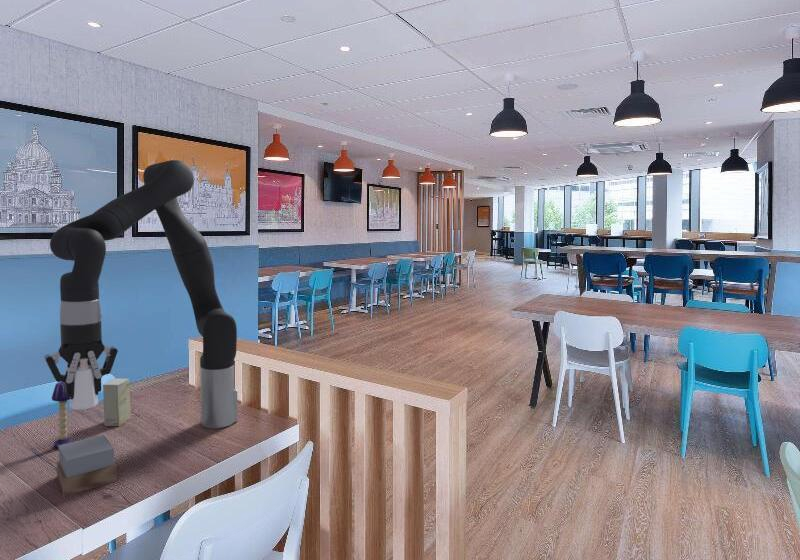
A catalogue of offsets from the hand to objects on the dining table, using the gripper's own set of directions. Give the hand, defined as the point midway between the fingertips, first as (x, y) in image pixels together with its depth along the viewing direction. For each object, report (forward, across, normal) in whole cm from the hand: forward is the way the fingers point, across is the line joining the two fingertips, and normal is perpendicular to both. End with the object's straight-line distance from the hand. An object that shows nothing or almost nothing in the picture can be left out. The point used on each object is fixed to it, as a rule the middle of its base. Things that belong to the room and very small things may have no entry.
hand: (83, 395), depth 109 cm
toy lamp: (+20, +1, -22) cm, 29 cm away
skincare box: (+20, -13, -30) cm, 38 cm away
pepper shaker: (+2, 0, 0) cm, 2 cm away
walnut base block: (+20, 0, 0) cm, 20 cm away
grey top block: (+16, 0, 0) cm, 16 cm away
